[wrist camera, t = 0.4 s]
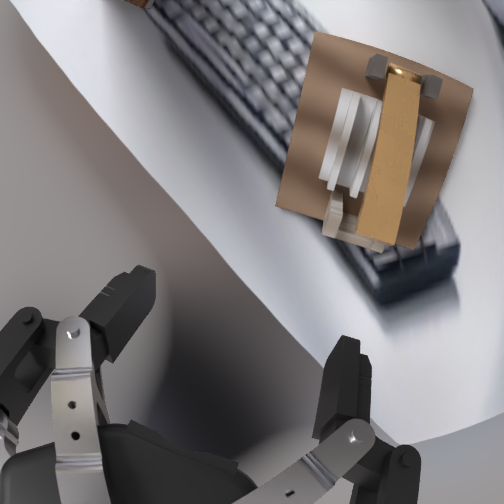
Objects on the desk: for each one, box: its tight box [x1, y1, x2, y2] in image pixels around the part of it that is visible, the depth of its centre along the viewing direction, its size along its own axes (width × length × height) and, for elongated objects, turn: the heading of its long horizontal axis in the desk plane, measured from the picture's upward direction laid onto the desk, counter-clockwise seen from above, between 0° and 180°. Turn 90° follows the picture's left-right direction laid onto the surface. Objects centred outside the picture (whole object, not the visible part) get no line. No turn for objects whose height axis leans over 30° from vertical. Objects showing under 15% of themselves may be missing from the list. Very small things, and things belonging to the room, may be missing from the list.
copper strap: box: [354, 63, 422, 246], centre depth 22 cm, size 16×3×2 cm, turn 171°
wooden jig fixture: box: [275, 31, 473, 253], centre depth 28 cm, size 21×18×9 cm
